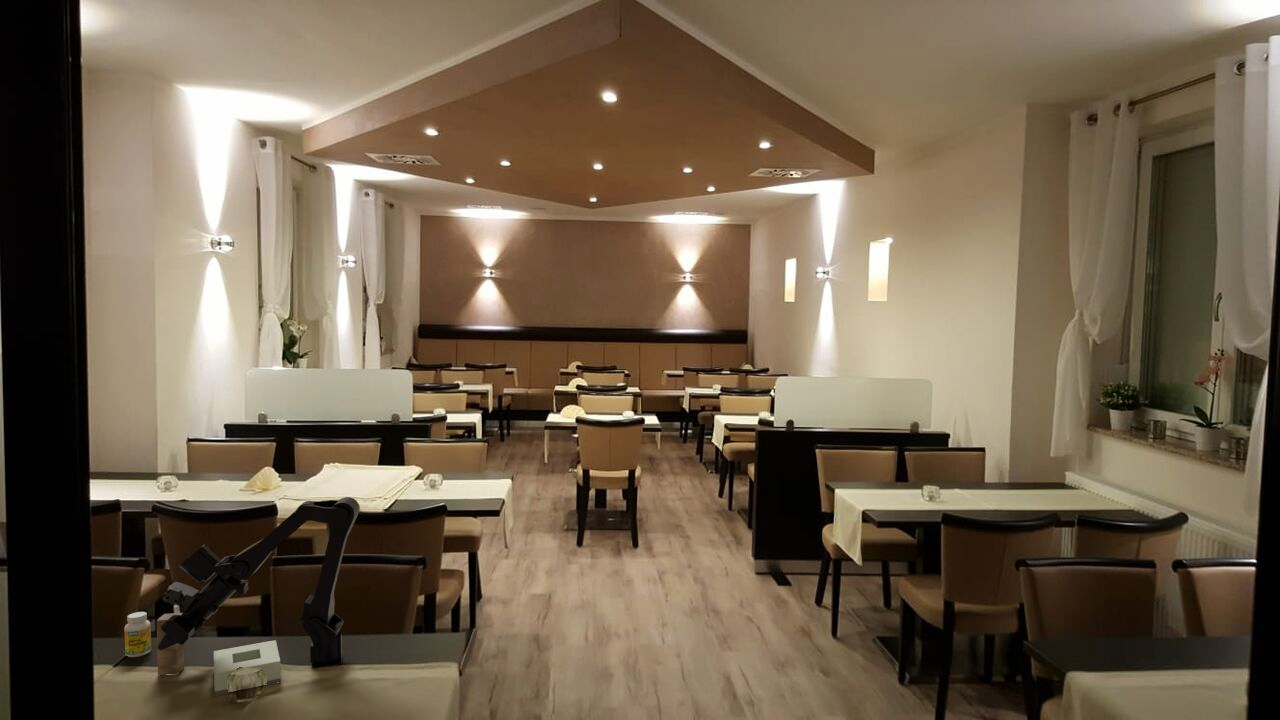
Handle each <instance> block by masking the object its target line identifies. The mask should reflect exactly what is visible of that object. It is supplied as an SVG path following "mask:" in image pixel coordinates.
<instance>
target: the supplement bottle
mask: <svg viewBox="0 0 1280 720" xmlns="http://www.w3.org/2000/svg"><path fill="white" fill-rule="evenodd" d="M147 615H148V614H147V612H146V611H137V612H132V613H130V614H128V615H127V616H126V620H127V624H125V626H124V629H123V630H124V653H125V656H126V657H127V656H128V657H127V658H137V657H142V656H145V655H147V654H149V653H150V652H151V651H152V632H151V631H152V630H151V629H152V627H151V622H150V620H148V616H147Z"/></svg>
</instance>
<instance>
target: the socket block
mask: <svg viewBox="0 0 1280 720" xmlns="http://www.w3.org/2000/svg"><path fill="white" fill-rule="evenodd" d="M278 649H279V648H278V644H277V640H276V639H275V640H269V641H263V642H262V641H261V642H258V643H252V644H246V645H239V646H236V647H230V648H224V649H219V650H213V673H214V674H213V677H214V685H213V686H214V697H219V696H222V695H228V694H229V693H228V690H227V676H228V674H230V673H232V672H233V671H235V670H236V669H237V668H239V667H243V668H245V667H246V668H250V667H257V668H261V669H263V670H264V671H265V672H266V676H267V683H266V684H267V686H271V684H272V685H275V684H274V683H276V684H278V683H277V682H280V681H281V682H282V680H281V678H282V677H281V676H282V675H281V658H280V654H279V653H280V652H279V650H278Z"/></svg>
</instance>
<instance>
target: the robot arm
mask: <svg viewBox="0 0 1280 720" xmlns="http://www.w3.org/2000/svg"><path fill="white" fill-rule="evenodd" d="M360 509H361V508H360V504H359V502H358V501H357V500H356V499H355V498H354V497H350V496H345V497H342V498H340V499H329V500H328V499H327V500H305V501H303V502H302V503H301V504H300V505H299V506H298V507H297V508H296V510H295V511H294V512H292V513H291V514H290V515H289V516H287V518H285V519H284V520H283V521H282V522H281V523H280V524H279V525H278V526H276V527H275V528H274V529H273V530H272V531H270V532H269V533H268V534H267V535H266V536H265V537H264V538H262V539H260V540H259V541H257V542H255V543H253V544H251V545H249V546H248V547H246V548H245V549H243V550H242V551H241V552H239V553H238V554H233V555H227V556H224V557H223V558H220V557H219V556H218V555H217V554H216V553H214V552H213V551H212V550H211V549H210V548H209V546H208V545H207V544H203V545H201V546H200V547H199V548H198V549H197V550H196V551H195V552H193V553H192V554H191V555H189V556H188V557H187V558H186V559H184V560H183V561H182V563H181V564H180V565H179V568H180V569H182V570H183V571H184V572H185V573H186V574H187V575H189V576H190V577H191V578H192V579H193V580H195V581H196V582H197V583H200V584H201V583H202V582H204V583H205V582H207V581H208V580H209V579H211V577H213V576H214V575H215V574H216V575H215V576H214V577H213V578H212V579H211V580H210V581H209V582H208V583H207V584H206V585H205V586H202V588H201V589H199V590H198V589H196V588H195V587H193V586H190V585H187V584H184V583H182V582H179V581H175V582H173V583H172V584H170V585H169V586H168V588H167V589H166V591H165V592H164V593H163V595H162V601H163V603H164V602H165V603H167V604H170V605H173V606H175V605H176V606H178V607H180V608H179V609H178V610H179V611H180V613H183V615H182V616H180V615H173V616H172V617H170V618H169V619H168V620H167V621H166V622H165V623H164V624H163V625H162V626H161V630H163V631H164V632H165V633H166V634H165V636H164V637H163V639H162V640H161V642H160V644H159V645H158V647H157V646H156V647H157V648H158V649H159V650H163V649H165V648H168V647H170V646H172V645H175V644H177V643H178V644H180V645H183V644H185V643H186V642H187V641H188V640H189V639H190V638H191V637H192V636H193V635H194V634H195V631H196V629H198V628H199V627H202V626H203V625H204V624H205V623H206V622H207V620H209V619H210V618H212V617H213V616H214V615H215V614H216V613H217V611H219V609H220V607H221V606H222V605H223V604H224V603H225V602H226V601H227V600H228V599H230V597H231V596H233V594H234V593H235V592H237V593H239V594H240V596H243V595H245V594H246V593H247V591H249V580H248V579H249V578H251V576H252V575H253V574H255V573H256V572H257V571H258V570H259V569H260V568H261V566H262V565H263V564H264V563H265V562H266V560H267V559H269V556H270V555H271V554H272V553H273V552H274V551H275V549H276V548H278V547H279V546H280V545H281V544H282V543H284V541H285V540H287V539H288V538H289V537H290V536H291V535H293V534H294V533H295V532H296V531H297V530H298V529H299V528H300V527H302V526H303V525H304V524H305V523H306V522H309V521H310V522H311V521H312V522H317V523H322V524H328V528H327V529H328V542H327V546H326V549H325V553H324V557H323V561H322V566H321V569H320V574H319V577H318V581H317V585H316V589H315V594H314V595H313V594H310V595H309V596H308V598H307V599H306V600H305V602H304V603H303V613H302V616H301V617H300V619H299V621H302V624H301V626H302V629H303V630H304V632H305V633H307V634H308V635H309V637H310V640H311V642H310V648H309V649H310V651H309V652H310V653H309V655H310V657H309V659H310V663H311V664H312V666H311V668H312V669H318V668H325V667H332V666H339V665H342V664H343V657H344V656H343V654H344V653H343V649H342V648H343V647H342V646H343V644H342V643H343V639H342V633H343V632H342V631H340V630H341V629H342V627H343V624H344V619H343V618H342V617H340V616H339V615H338V614H337V613H336V612H335V604H336V603H335V588H336V586H337V585H336V584H337V582H338V581H337V580H338V576H339V574H340V573H339V572H340V568H341V564H342V560H343V555H344V551H345V548H346V543H347V540H348V536H349V534H350V532H351V530H352V529H353V527H354V524H355V522H356V520H357V518H358V515H359V513H360Z"/></svg>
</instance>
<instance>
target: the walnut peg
mask: <svg viewBox="0 0 1280 720" xmlns="http://www.w3.org/2000/svg"><path fill="white" fill-rule="evenodd" d="M173 615H180V616H182V615H183V613H182V612H178V613H177V612H176V613H175V612H173V613H164V614H163V615H161V616H160V617H158V619H156V647H158V645H159V644H160V642H161V640H162V639H163V637H164V636H165V634H166V633H165V632H164V631H163V630H161V626H162V625H163V624H164V623H165V622H166V621H167V620H168V619H169V618H170V617H172V616H173ZM184 644H185V643H184ZM184 644H183V645H180V644H178V643H177V644H175V645H172V646H170V647H168V648H165V649H163V650H159V649H158V648H157V649H156V650H157V651H156V653H157V655H156V656H157V658H156V659H157V676H158V675H166V674H177V673H178V672H179V671H180V670H181V669H182V668H183V667H184V668H185V648H184V646H185V645H184ZM184 668H183V669H184ZM183 669H182V670H183ZM182 670H181V671H182ZM181 671H180V672H181ZM180 672H179V673H180ZM179 673H178V674H179ZM178 674H177V675H178Z"/></svg>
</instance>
